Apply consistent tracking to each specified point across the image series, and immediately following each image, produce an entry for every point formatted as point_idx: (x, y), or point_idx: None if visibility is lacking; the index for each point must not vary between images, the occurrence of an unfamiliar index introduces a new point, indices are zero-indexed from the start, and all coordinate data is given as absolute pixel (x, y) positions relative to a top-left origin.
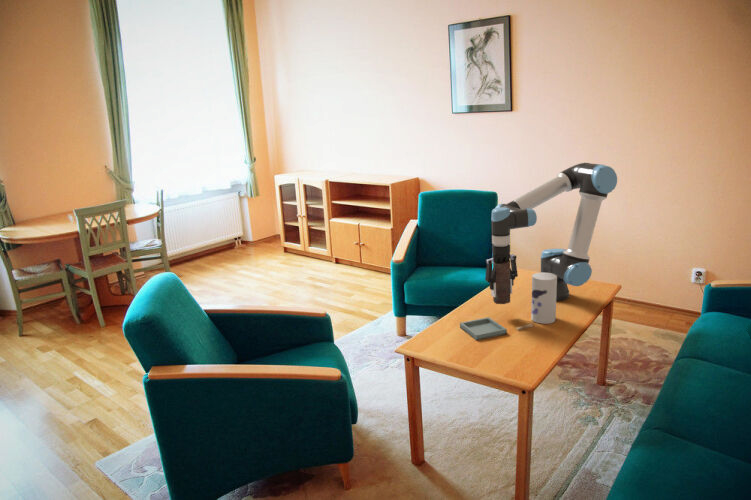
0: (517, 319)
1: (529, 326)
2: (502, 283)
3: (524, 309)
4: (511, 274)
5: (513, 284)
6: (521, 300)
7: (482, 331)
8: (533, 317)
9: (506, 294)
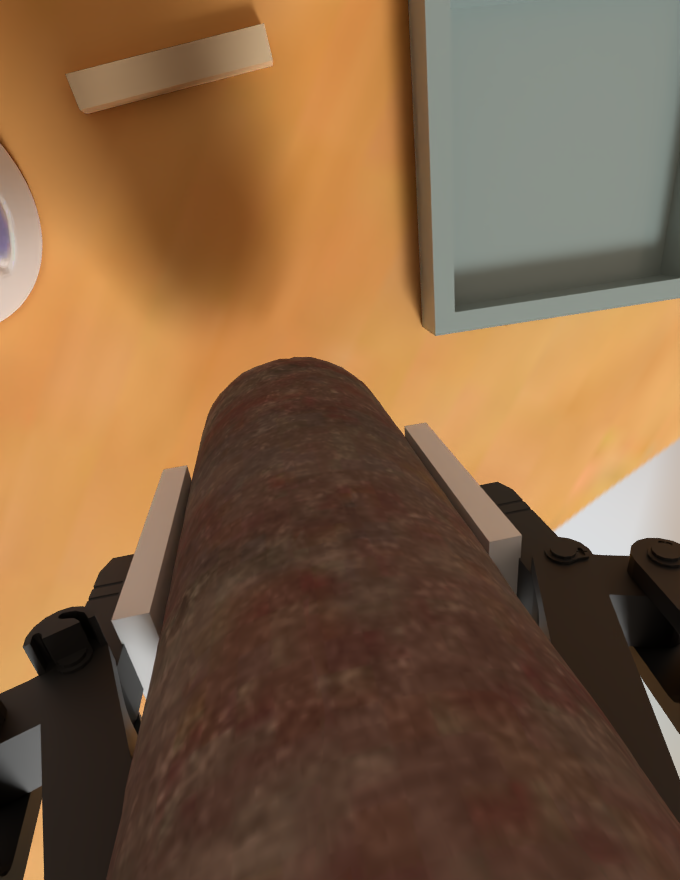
0: (174, 300)
1: (117, 64)
2: (393, 479)
3: (46, 479)
4: (88, 735)
5: (102, 571)
6: (23, 631)
7: (588, 114)
8: (16, 201)
9: (285, 394)
